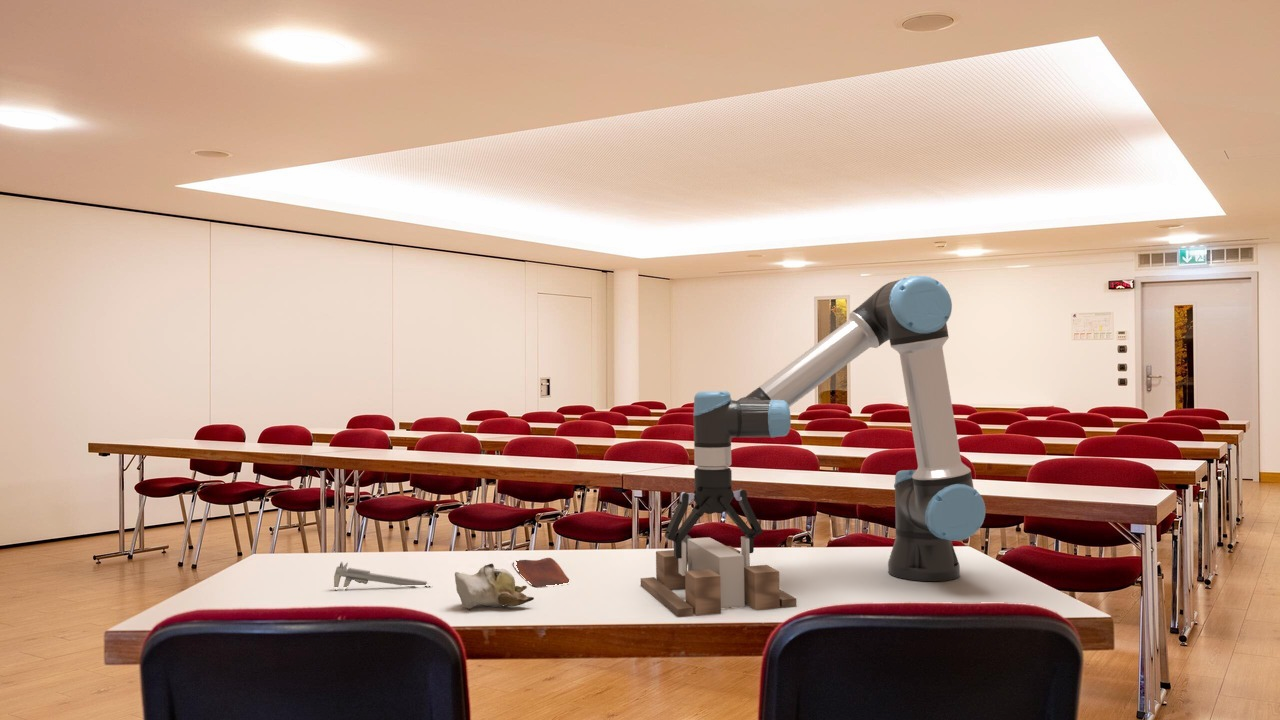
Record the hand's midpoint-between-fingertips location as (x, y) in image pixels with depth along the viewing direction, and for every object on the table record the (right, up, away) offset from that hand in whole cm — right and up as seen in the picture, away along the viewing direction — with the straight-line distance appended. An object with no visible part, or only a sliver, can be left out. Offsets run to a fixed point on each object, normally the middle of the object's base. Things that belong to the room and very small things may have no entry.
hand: (714, 572), depth 187 cm
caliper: (-70, -6, +10) cm, 71 cm away
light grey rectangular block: (0, -5, 0) cm, 5 cm away
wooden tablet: (-38, -6, +22) cm, 44 cm away
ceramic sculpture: (-44, -6, -6) cm, 45 cm away
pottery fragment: (0, -5, +36) cm, 37 cm away
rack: (0, -5, 0) cm, 5 cm away
